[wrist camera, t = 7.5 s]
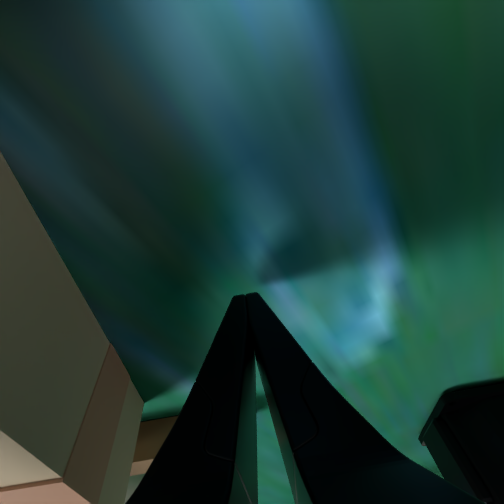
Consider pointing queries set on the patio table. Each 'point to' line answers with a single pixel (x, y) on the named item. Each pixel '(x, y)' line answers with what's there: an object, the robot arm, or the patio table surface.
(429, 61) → the patio table surface
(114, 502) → the carton
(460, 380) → the patio table surface
